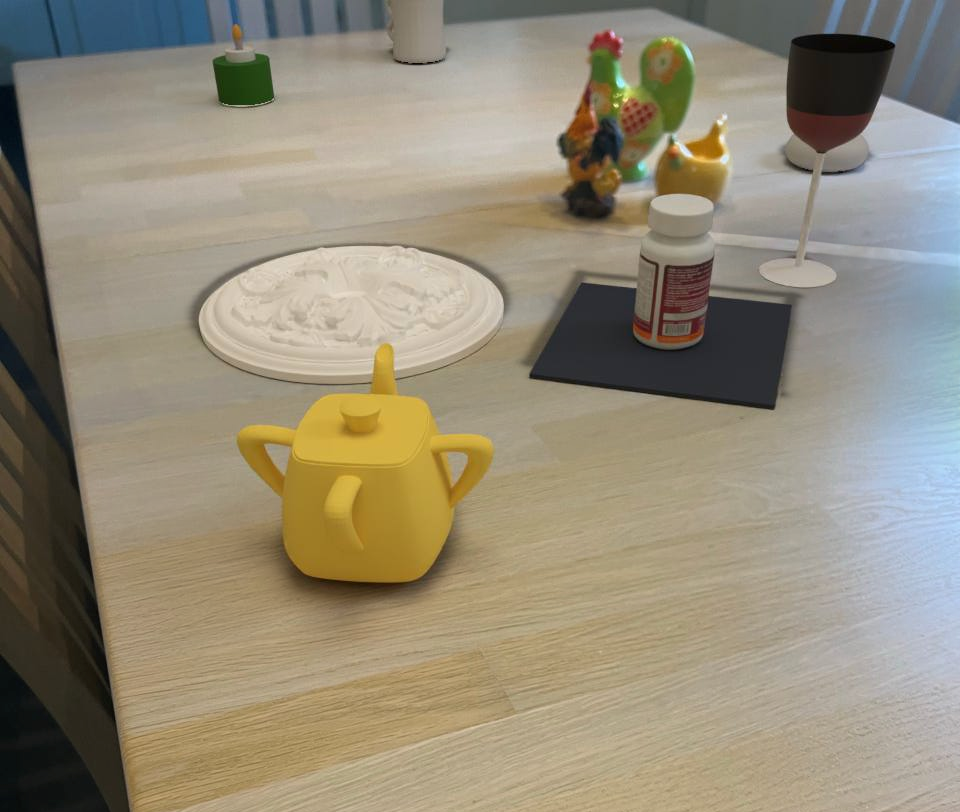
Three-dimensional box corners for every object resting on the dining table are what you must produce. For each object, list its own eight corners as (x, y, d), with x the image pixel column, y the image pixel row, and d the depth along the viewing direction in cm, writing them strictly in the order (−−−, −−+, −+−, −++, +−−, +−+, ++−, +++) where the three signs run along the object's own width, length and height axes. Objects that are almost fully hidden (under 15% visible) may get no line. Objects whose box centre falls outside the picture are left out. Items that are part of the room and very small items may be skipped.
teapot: (236, 526, 68) (208, 387, 62) (396, 465, 74) (386, 332, 67) (339, 632, 60) (318, 485, 53) (510, 554, 66) (512, 412, 59)
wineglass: (752, 254, 104) (790, 32, 91) (840, 260, 103) (890, 35, 90) (752, 284, 98) (792, 51, 85) (845, 291, 97) (900, 54, 84)
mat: (791, 308, 94) (792, 304, 94) (774, 409, 80) (775, 404, 80) (580, 286, 99) (581, 282, 98) (529, 377, 84) (529, 373, 84)
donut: (771, 169, 126) (851, 180, 122) (775, 139, 124) (857, 149, 119) (799, 148, 132) (876, 159, 128) (804, 120, 130) (882, 129, 126)
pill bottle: (714, 332, 89) (734, 200, 82) (682, 358, 86) (700, 222, 78) (652, 316, 92) (666, 186, 85) (619, 340, 88) (630, 206, 81)
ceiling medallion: (177, 282, 100) (170, 250, 98) (442, 242, 108) (441, 211, 106) (234, 409, 81) (227, 372, 78) (553, 348, 88) (554, 313, 86)
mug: (457, 58, 173) (456, -11, 166) (419, 67, 168) (416, -3, 161) (407, 48, 179) (404, -19, 172) (369, 57, 174) (364, -12, 168)
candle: (220, 109, 149) (207, 31, 143) (218, 95, 155) (205, 20, 149) (276, 105, 151) (266, 28, 144) (272, 91, 157) (262, 17, 150)
